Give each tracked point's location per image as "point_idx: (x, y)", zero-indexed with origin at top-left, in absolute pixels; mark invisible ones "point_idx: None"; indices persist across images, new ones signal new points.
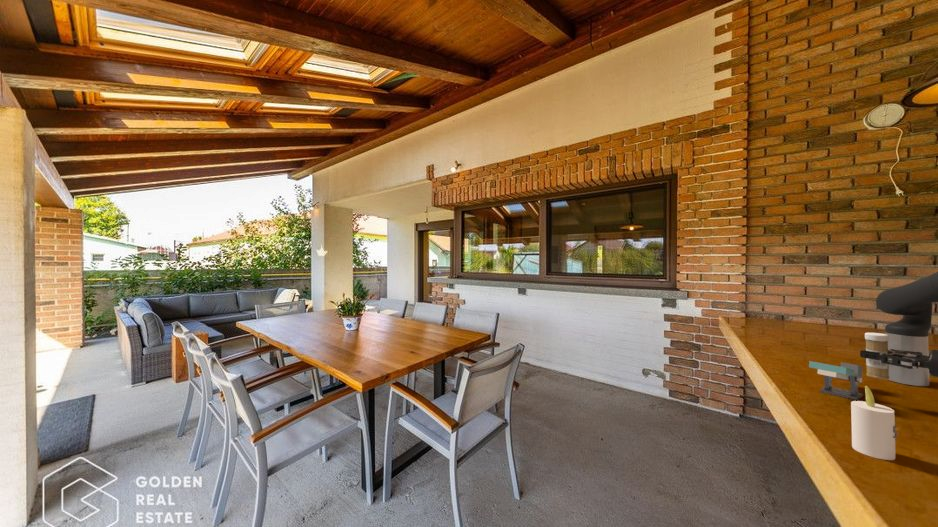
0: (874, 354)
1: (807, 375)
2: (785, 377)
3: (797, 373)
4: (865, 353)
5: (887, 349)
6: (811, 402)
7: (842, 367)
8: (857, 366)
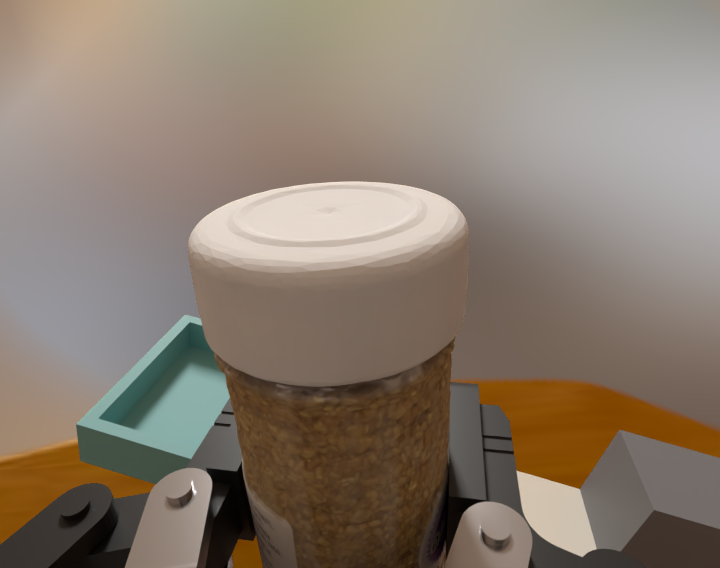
0: (199, 455)
1: (642, 428)
2: (492, 385)
3: (626, 401)
4: (229, 406)
5: (304, 500)
6: (142, 488)
7: (92, 412)
8: (647, 514)
